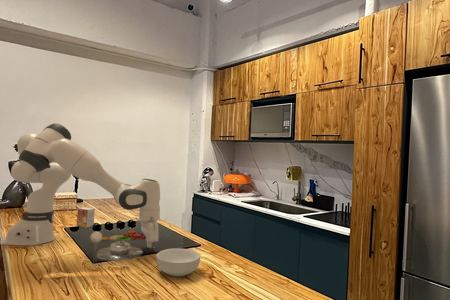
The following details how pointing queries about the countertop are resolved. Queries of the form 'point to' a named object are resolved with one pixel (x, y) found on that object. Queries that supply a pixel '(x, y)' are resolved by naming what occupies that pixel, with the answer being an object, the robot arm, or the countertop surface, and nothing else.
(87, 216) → the small box
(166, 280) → the countertop surface
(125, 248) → the cover
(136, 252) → the turntable
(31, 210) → the robot arm
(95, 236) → the lever with square base
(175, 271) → the cereal bowl
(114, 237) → the gear puzzle
